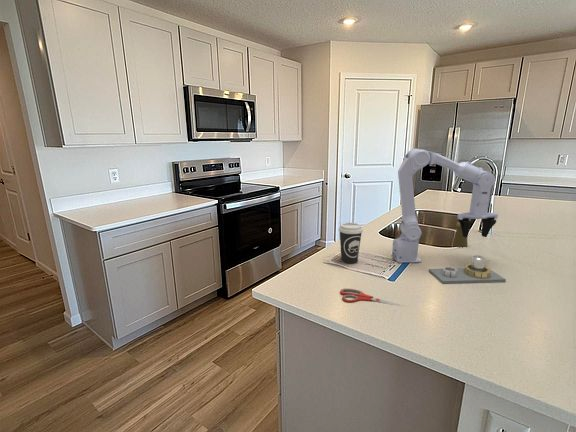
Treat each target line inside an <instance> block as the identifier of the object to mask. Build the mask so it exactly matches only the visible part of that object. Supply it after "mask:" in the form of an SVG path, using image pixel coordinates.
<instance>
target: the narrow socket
mask: <svg viewBox="0 0 576 432" xmlns="http://www.w3.org/2000/svg"><path fill="white" fill-rule="evenodd" d="M441 268H442V271H441V274H442V275H445V276H447V277H451V278H452V277H457V276H458V269H456V268H457V267H454V266H449V265H447V266H446V265H445V266H442V267H441Z"/></svg>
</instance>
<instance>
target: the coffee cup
mask: <svg viewBox="0 0 576 432" xmlns="http://www.w3.org/2000/svg"><path fill="white" fill-rule="evenodd" d="M363 229H364V228H363V227H362V225H361V224H360V223H357V222H343V223H341V224H340V226H339V227H338V232H339V240H340V241H339V242H340V243H339V245H340V258H341V259H340V260H341V262H343V263H344V264H349V265H351V264H356V263H358V260H359V255H360V247H361V246H360V245H361V239H362V233H363V232H364V230H363Z"/></svg>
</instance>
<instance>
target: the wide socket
mask: <svg viewBox="0 0 576 432" xmlns="http://www.w3.org/2000/svg"><path fill="white" fill-rule="evenodd" d="M463 268H464V273H465V274H467V275H469V276H471V277H474V278H480V279H487V278H489V277H490V276H491V270H492V269H491V268H489V267H487V266H486V265H485V266H484V272H477V271H473V270H471V263H467V264H464V267H463Z"/></svg>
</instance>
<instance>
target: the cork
mask: <svg viewBox="0 0 576 432" xmlns="http://www.w3.org/2000/svg"><path fill="white" fill-rule="evenodd" d="M455 228H456V229H455V230H456V231H455V234H454V238H453V240H452V246H454V247H456V248H460V247H462V249H463V247H466V248H468V237H467V238H465V237H463V234H462V228H461V225H460V223H459V221H457V223H456V224H455Z"/></svg>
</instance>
